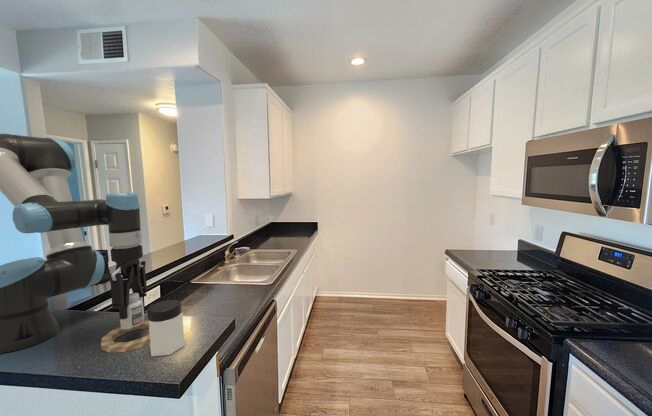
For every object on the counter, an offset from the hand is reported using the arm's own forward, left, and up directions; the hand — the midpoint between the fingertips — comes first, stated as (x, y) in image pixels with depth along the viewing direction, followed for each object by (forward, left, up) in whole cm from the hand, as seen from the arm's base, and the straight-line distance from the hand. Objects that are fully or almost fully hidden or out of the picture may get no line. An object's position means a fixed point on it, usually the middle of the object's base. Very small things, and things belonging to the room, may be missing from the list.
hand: (133, 323), depth 83 cm
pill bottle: (0, 0, 0) cm, 0 cm away
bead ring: (0, 0, -4) cm, 4 cm away
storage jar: (-48, +55, -5) cm, 73 cm away
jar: (+13, -7, -5) cm, 15 cm away
